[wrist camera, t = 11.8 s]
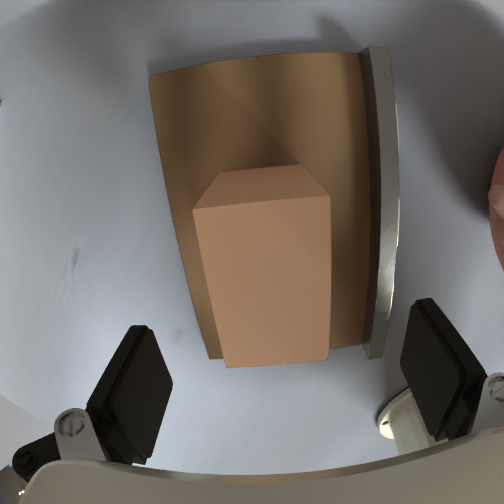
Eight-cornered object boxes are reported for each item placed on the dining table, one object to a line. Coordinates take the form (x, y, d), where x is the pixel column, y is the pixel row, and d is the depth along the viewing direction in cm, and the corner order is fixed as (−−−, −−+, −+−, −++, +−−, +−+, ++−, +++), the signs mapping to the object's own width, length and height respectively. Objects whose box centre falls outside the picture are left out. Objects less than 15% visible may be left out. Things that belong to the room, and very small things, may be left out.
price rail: (373, 58, 16) (393, 48, 13) (374, 330, 25) (386, 356, 22) (351, 57, 16) (368, 46, 13) (357, 332, 25) (368, 359, 22)
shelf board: (351, 57, 16) (358, 52, 15) (357, 332, 25) (362, 343, 24) (155, 79, 17) (148, 77, 16) (211, 347, 26) (209, 359, 25)
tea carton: (308, 279, 21) (329, 359, 14) (236, 285, 21) (226, 367, 14) (301, 164, 18) (331, 195, 11) (219, 172, 18) (192, 209, 11)
